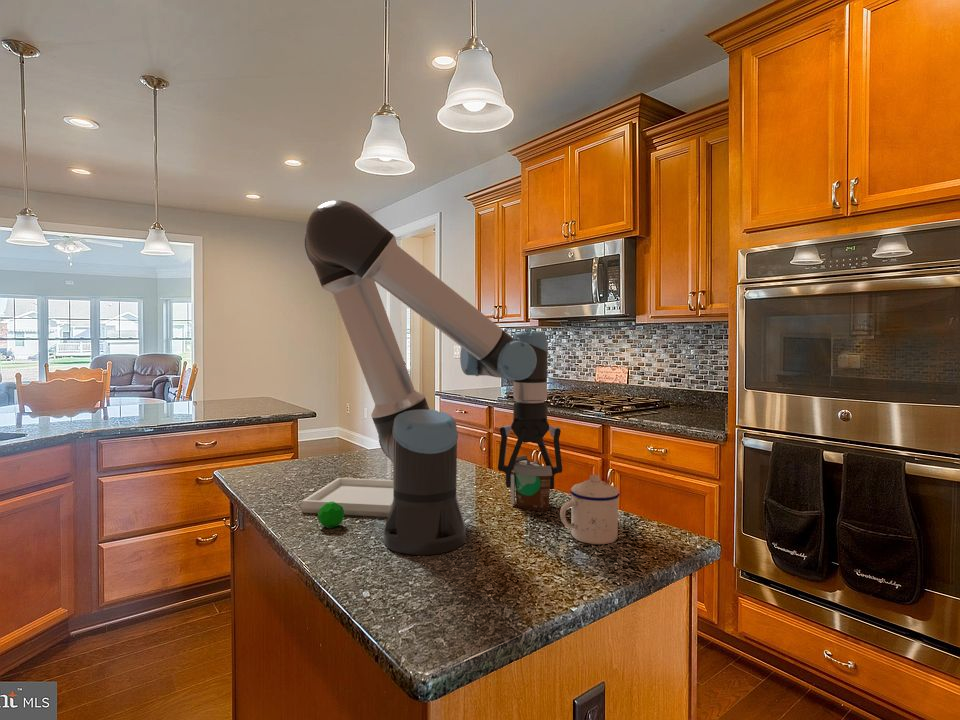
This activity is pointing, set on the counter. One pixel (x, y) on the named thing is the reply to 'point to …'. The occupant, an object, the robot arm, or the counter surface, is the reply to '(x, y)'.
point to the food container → (532, 484)
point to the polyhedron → (331, 514)
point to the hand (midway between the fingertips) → (529, 502)
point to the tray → (354, 497)
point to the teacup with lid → (593, 511)
